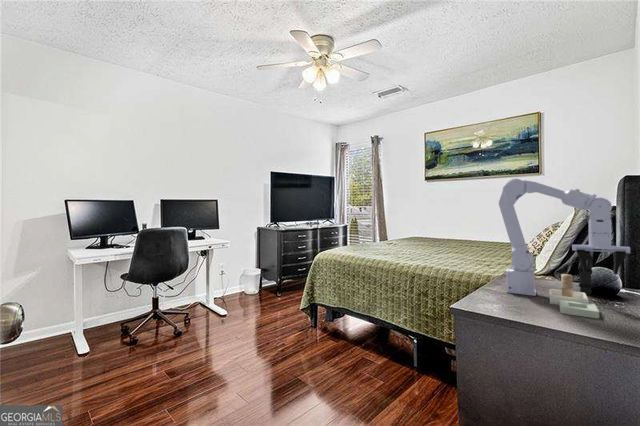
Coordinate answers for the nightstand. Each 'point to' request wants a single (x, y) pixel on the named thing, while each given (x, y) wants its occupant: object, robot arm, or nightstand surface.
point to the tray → (557, 295)
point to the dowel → (567, 285)
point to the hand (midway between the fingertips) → (600, 272)
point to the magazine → (586, 275)
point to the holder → (578, 309)
